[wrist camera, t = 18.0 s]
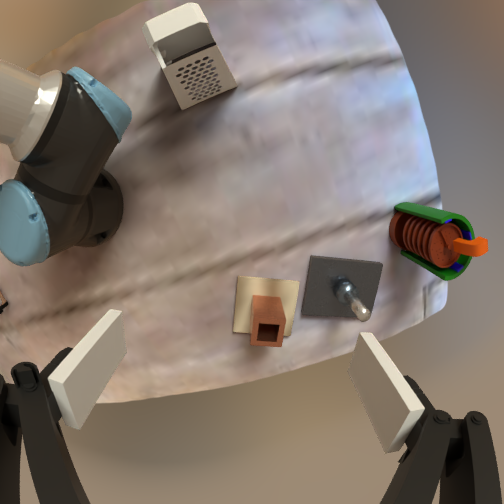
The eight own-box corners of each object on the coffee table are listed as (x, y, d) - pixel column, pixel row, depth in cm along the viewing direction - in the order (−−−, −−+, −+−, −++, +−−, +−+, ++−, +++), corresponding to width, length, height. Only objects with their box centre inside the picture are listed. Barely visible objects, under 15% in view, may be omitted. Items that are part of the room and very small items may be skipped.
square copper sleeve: (250, 319, 54) (250, 345, 45) (252, 294, 52) (253, 317, 44) (276, 321, 54) (281, 347, 45) (280, 297, 53) (286, 319, 44)
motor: (380, 214, 50) (444, 235, 31) (416, 193, 49) (485, 205, 30) (398, 260, 52) (458, 298, 33) (431, 238, 51) (496, 266, 32)
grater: (237, 86, 44) (231, 34, 25) (181, 110, 45) (143, 73, 26) (215, 41, 42) (199, -21, 23) (162, 65, 43) (120, 15, 24)
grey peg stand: (301, 311, 55) (314, 345, 42) (310, 255, 52) (328, 278, 40) (367, 314, 55) (392, 345, 43) (379, 262, 52) (411, 284, 40)
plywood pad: (233, 329, 55) (233, 331, 54) (238, 275, 53) (237, 277, 52) (289, 333, 56) (290, 335, 55) (298, 281, 53) (299, 282, 52)
